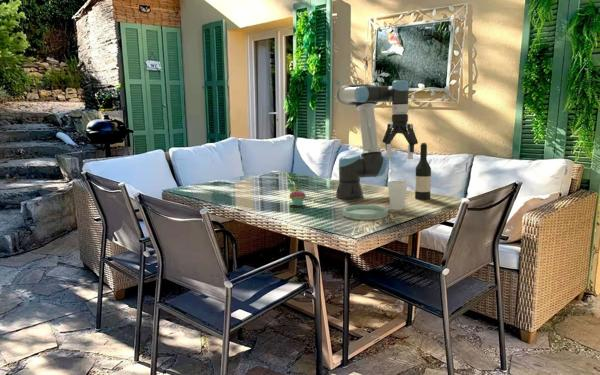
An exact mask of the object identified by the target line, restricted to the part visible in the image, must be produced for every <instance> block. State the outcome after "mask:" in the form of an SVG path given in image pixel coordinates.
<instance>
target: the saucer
mask: <svg viewBox="0 0 600 375" xmlns="http://www.w3.org/2000/svg"><path fill="white" fill-rule="evenodd" d="M388 214H389V210H388V209H387V207H385V206H380V205H375V204H354V205H348V206H345V207H343V208H342V216H343V217H345V218H348V219H352V220H357V221H358V220H360V221H361V220H362V221H371V220H372V221H373V220H379V219H380V220H381V219H385V218H386V217H387V216H388Z"/></svg>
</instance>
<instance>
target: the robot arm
mask: <svg viewBox="0 0 600 375" xmlns="http://www.w3.org/2000/svg"><path fill="white" fill-rule="evenodd" d="M409 89H410V87H409V81H408V80H407V79H406V80H403V79H402V80H393V81H392V84H391V85H385V86H384V85H382V86H381V85H379V86H377V85H375V84H371V83H370V84H369V83H365V84H363V83H360V84H356V83H355V84H349V83H348V84H345V85H342V86H341V87H340V88H339V89H338V91H337V93H336V97H337V99H338V101H339V102H340V103H342V105H343V104H344V105H346V106H347V105H348V106H355V110H356V111H358V115H359V125H360V126H359V127H360V133H361V144H362V152H361V154H357V153H356V154H350V155H348V154H347V155H343V156H341V157H340V158H339V159H338V186H337V189H336V192H335V197H336V198H337V199H343V200H356V199H361V198H363V197H364V192H363V188H362V185H361V180H360V179H361V178H377V177H382V176H384V174H385V173H386V171H387V164H388V163H387V158H392V141H393V140H394V139H395V136H396V135H397V134H401V135H403V136H404V138H405V140H406V141H407V143H408V145H407V160H413V159H414V152H415V145H418V144H419V142H418V139H417V137H416V136H417V135H416V133H415V130H414V126H413V125H414V124H413V123H408V122H409V114H408V113H409V91H410V90H409ZM380 102H381V103H383V102H385V103H392V104H391V107H392V108H391V113H392V115H391V122H392V123H387V127H386V130H385V134H384V136H383V139H382V143H384V144H385V151H386V156H385V155H383V154H382V153H383V152H382V151H380V150H379V144H378V135H377V134H378V133H377V127H376V117H375V109H376V107H377V105H378V104H379V103H380Z"/></svg>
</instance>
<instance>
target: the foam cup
mask: <svg viewBox="0 0 600 375" xmlns="http://www.w3.org/2000/svg"><path fill="white" fill-rule="evenodd" d="M387 189H388V198H389V205H390V210H395V211H401V210H404V208H405V201H406V196H407V194H406V193H407V191H408V190H407V189H408V181H405V180H390V181H387Z"/></svg>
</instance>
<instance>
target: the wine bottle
mask: <svg viewBox="0 0 600 375" xmlns="http://www.w3.org/2000/svg"><path fill="white" fill-rule="evenodd" d="M427 156H428V144H427V143H426V142H421V144H420V158H419V159H420V160H419V162H418V163H417V165H416V166H415V177H414V178H415V182H414V189H415V190H414V198H415V200H420V201H423V200H425V201H427V200H430V199H431V185H432V184H431V183H432V178H431V176H432V167H431V165H430V164H429V162H428V161H427V159H428V157H427Z"/></svg>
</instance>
